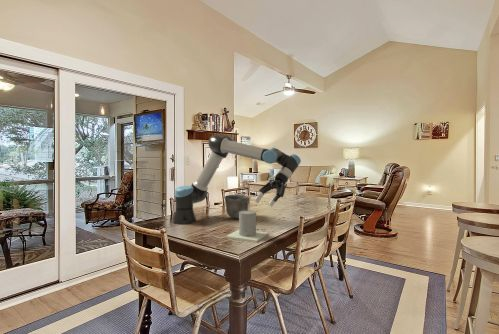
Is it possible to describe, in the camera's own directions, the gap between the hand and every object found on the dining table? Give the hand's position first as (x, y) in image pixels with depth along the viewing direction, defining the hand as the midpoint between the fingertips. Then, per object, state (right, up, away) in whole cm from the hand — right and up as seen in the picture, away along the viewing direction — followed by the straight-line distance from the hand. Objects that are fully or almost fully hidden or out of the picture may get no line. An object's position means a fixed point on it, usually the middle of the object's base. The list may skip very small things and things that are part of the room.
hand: (262, 203), depth 158 cm
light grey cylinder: (-9, -16, -5) cm, 19 cm away
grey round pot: (-17, -15, +39) cm, 45 cm away
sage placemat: (-9, -17, -5) cm, 20 cm away
